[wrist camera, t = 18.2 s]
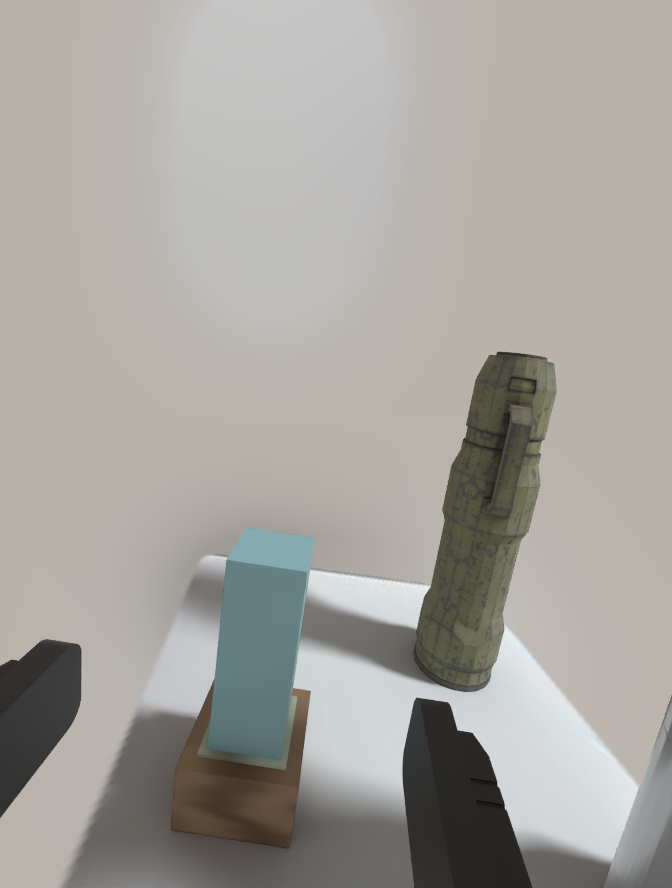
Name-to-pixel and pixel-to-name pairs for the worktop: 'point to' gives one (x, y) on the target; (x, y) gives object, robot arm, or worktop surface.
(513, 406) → the thermos
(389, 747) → the worktop surface
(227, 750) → the teal block
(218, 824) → the walnut base
